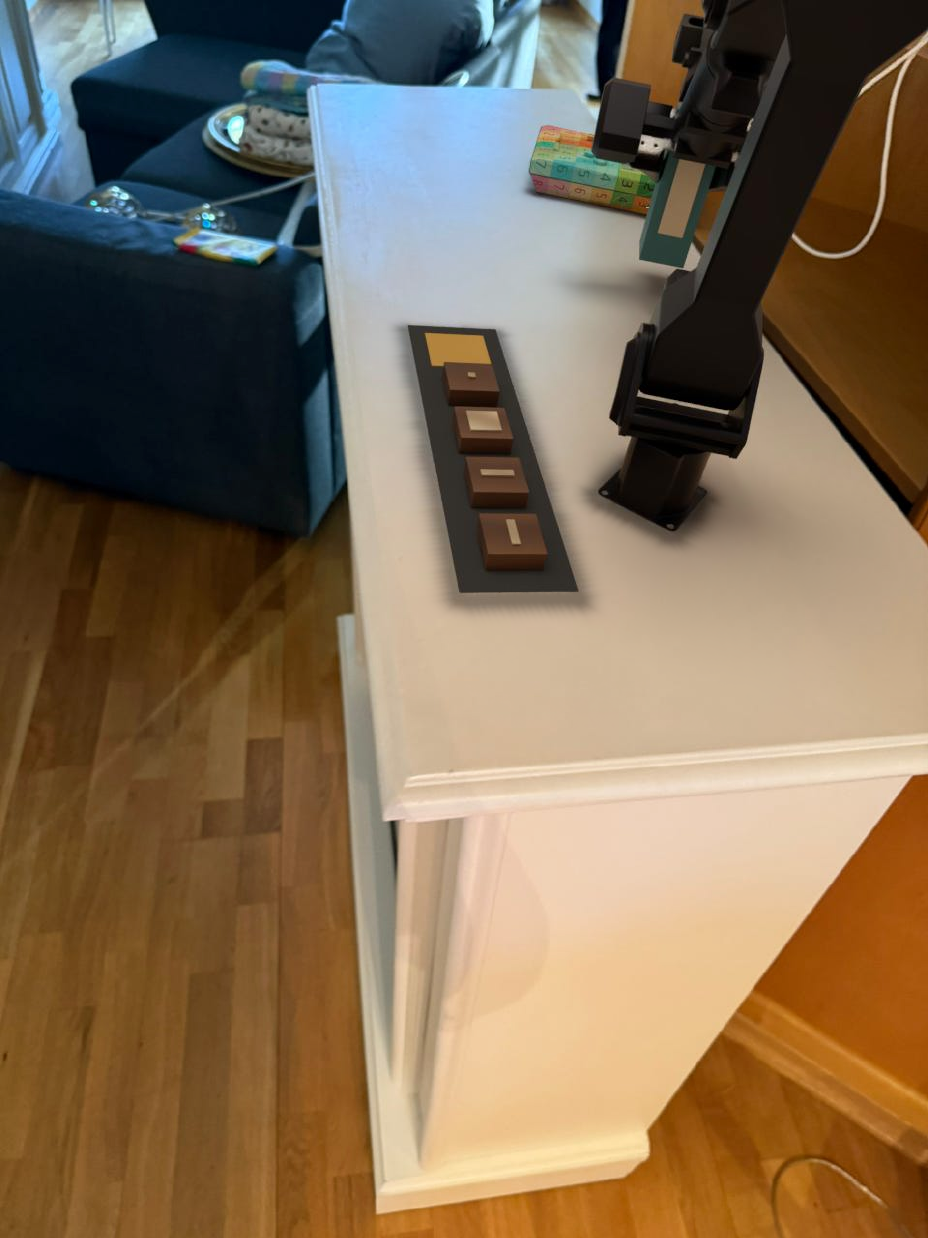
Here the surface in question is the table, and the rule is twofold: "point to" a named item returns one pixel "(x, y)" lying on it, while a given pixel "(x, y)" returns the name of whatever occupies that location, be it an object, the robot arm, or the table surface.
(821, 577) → the table surface
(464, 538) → the word mat
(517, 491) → the tile
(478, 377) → the tile
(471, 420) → the tile
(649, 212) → the teal tall rectangular block
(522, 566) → the tile
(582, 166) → the puzzle game
